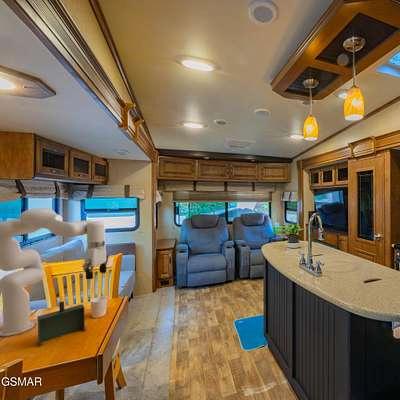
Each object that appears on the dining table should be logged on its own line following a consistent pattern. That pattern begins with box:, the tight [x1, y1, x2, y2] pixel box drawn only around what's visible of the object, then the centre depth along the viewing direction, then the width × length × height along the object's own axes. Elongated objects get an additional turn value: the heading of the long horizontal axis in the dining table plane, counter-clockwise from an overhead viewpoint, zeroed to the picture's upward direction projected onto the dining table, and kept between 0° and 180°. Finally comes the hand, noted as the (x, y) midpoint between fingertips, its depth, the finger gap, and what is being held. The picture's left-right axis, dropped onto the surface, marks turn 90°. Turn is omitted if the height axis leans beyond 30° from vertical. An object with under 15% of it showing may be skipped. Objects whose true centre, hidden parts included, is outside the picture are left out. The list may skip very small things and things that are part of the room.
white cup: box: [90, 295, 108, 319], centre depth 149 cm, size 8×8×10 cm
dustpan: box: [37, 300, 86, 347], centre depth 127 cm, size 5×17×18 cm, turn 142°
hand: (96, 275), depth 133 cm, fingers open, 9 cm apart
